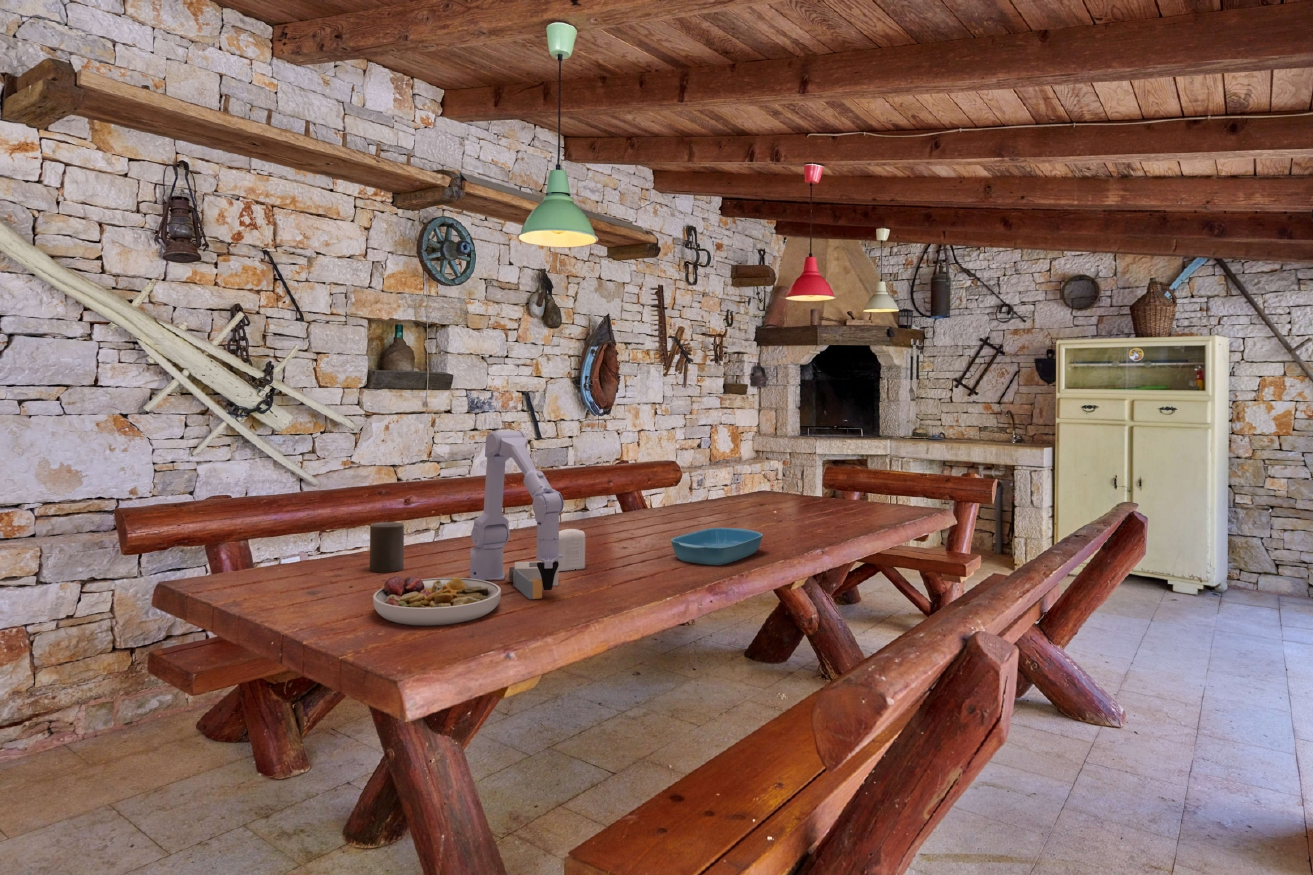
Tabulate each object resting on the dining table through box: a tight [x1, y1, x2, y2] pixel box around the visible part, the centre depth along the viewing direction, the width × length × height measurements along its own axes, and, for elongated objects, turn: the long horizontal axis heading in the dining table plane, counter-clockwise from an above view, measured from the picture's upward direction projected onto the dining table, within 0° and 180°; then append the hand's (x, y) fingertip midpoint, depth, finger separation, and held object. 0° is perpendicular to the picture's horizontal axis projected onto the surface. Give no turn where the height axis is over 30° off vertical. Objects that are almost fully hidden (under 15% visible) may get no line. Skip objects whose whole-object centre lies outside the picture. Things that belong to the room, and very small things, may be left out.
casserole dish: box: [670, 527, 764, 566], centre depth 263 cm, size 37×22×7 cm, turn 146°
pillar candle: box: [369, 519, 405, 574], centre depth 237 cm, size 10×10×15 cm
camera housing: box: [508, 560, 559, 587], centre depth 223 cm, size 14×9×5 cm, turn 99°
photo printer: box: [556, 528, 586, 572], centre depth 240 cm, size 10×4×12 cm, turn 123°
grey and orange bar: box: [512, 570, 543, 600], centre depth 211 cm, size 15×4×5 cm, turn 25°
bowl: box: [372, 575, 502, 627], centre depth 193 cm, size 30×30×8 cm
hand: (547, 589), depth 207 cm, fingers closed
